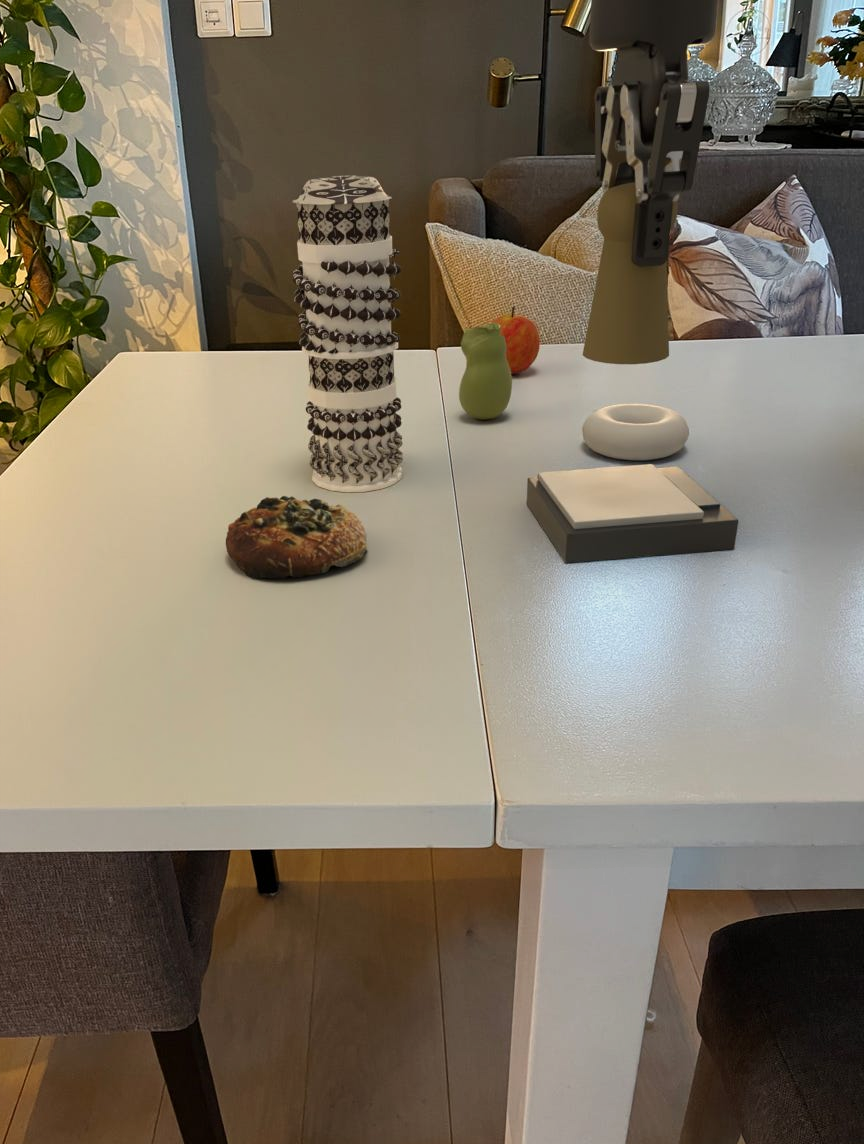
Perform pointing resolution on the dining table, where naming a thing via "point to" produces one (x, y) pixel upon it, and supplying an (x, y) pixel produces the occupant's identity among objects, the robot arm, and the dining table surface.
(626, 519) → the scale
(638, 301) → the olive game pawn
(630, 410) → the donut
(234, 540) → the bread roll
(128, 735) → the dining table surface
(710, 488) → the dining table surface
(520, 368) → the fruit
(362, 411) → the decorative candle
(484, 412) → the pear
